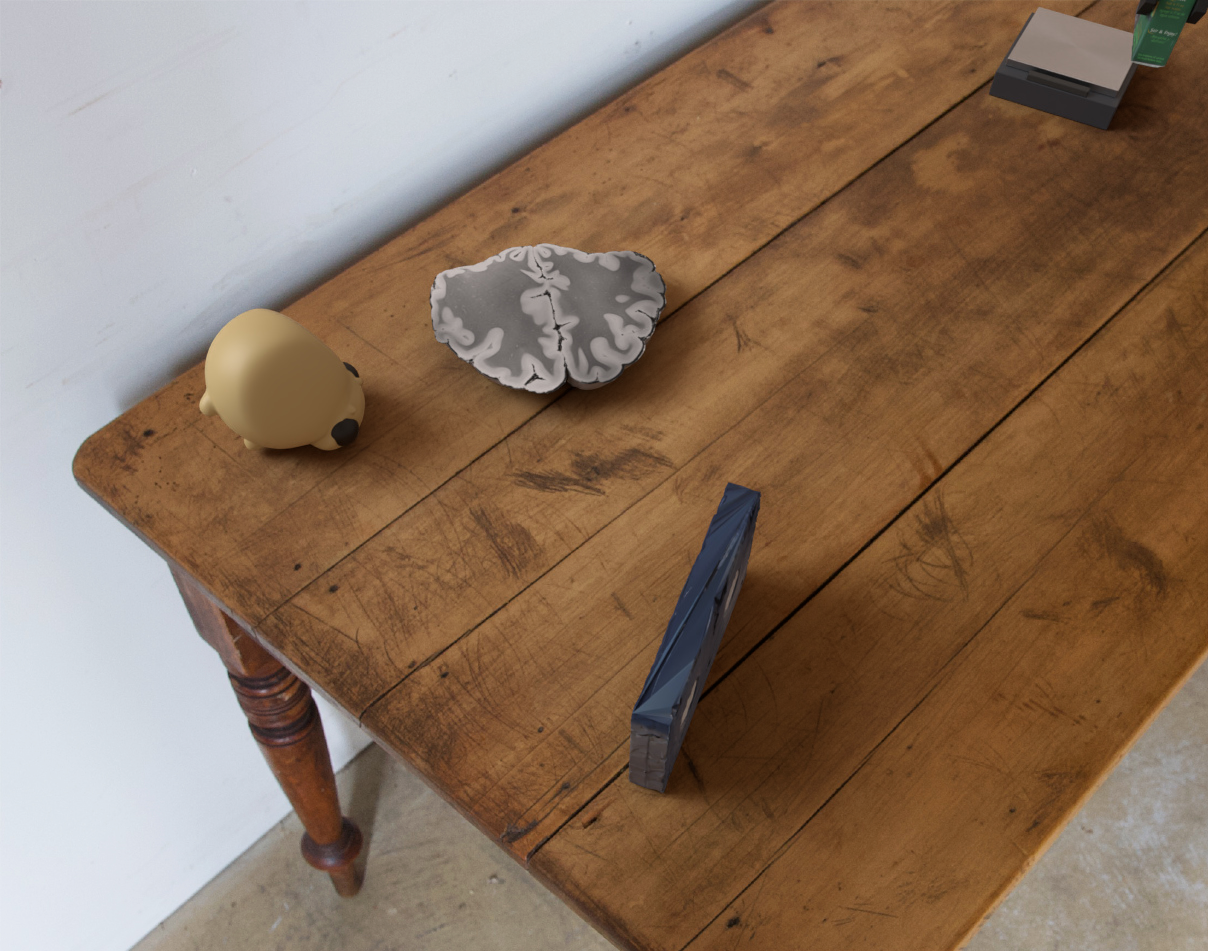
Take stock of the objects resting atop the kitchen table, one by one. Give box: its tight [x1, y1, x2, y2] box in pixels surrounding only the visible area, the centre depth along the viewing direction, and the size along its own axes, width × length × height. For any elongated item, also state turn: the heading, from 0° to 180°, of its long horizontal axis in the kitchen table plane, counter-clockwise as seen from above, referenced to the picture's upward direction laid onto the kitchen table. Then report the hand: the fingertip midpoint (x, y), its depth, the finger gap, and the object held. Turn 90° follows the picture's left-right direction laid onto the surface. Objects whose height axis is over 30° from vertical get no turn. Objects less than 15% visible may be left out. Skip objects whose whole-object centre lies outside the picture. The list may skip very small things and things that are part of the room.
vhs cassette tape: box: [628, 482, 762, 794], centre depth 72 cm, size 18×3×10 cm, turn 157°
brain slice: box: [428, 242, 668, 395], centre depth 92 cm, size 20×17×3 cm
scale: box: [988, 6, 1140, 131], centre depth 112 cm, size 12×12×3 cm
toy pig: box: [199, 307, 366, 452], centre depth 84 cm, size 10×12×11 cm
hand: (1170, 12), depth 84 cm, fingers closed on coffee box, 3 cm apart
